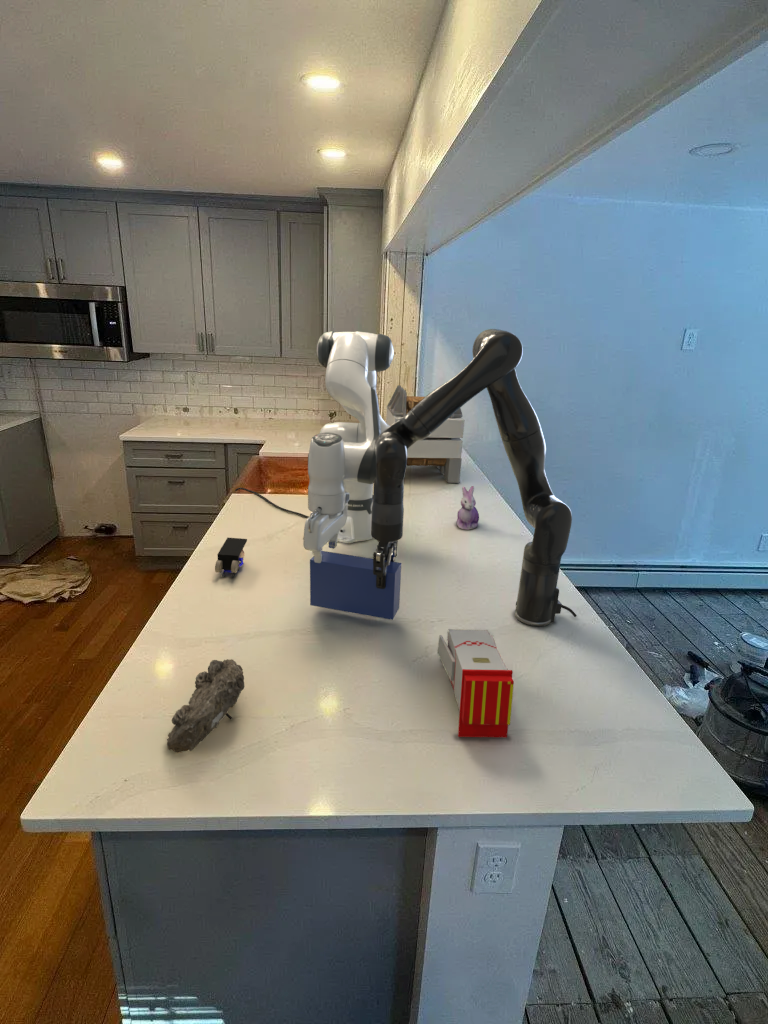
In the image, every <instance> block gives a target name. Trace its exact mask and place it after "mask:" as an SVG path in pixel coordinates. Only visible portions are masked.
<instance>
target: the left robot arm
mask: <svg viewBox="0 0 768 1024" xmlns="http://www.w3.org/2000/svg"><path fill="white" fill-rule="evenodd" d="M392 342H393V341H392V339H391V338H390V336H388V335H386V334H382V333H377V334H376V333H372V332H368V331H357V330H356V331H336V332H335V331H333V330H331V331H326V332H323V333H322V334H321V335H320V336H319V339H318V341H317V344H316V356H317V359H318V362H319V364H320V365H321V366H322V367H323V368H326V370H325V378H324V383H325V386H324V387H325V389H326V391H327V393H328V395H329V397H331V398H332V399H333V400H334V401H335V402H337V403H338V404H339V405H341V407H342V409H343V410H344V411H345V413H347V414H348V415H350V416H351V417H353V418H355V419H356V420H357V421H358V422H348V421H336V422H330V423H325V424H324V425H323V426H322V427H321V429H320V431H319V433H316V434H315V435H313V436H312V437H311V439H310V443H309V450H308V454H307V473H308V474H307V475H308V479H309V483H308V487H307V510H308V511H309V512H311V513H310V514H309V516H308V515H306V514H303V513H300V512H297V511H293V510H290V509H287V508H285V507H281V506H279V505H277V504H276V503H274V502H272V501H271V500H269V499H268V498H267V497H265V496H264V495H262V494H260V493H259V492H256V491H253V490H251V489H248V488H246V487H237V488H236V489H235V490H234V491H235V492H237V491H240V490H241V491H246V492H248V493H250V494H254V495H257V496H258V497H260V498H261V499H263V500H264V501H265V502H267V503H268V504H270V505H272V506H273V507H275V508H277V509H279V510H280V511H284V512H287V513H290V514H294V515H297V516H301V517H303V518H306V519H305V522H304V528H303V541H302V542H303V543H302V544H303V545H302V547H303V549H304V550H305V551H309V552H312V555H313V556H314V562H315V563H321V562H322V561H323V554H322V553H321V551H323V547H325V545H326V544H327V543H328V546H327V547H328V548H329V549H332V550H333V549H335V548H336V547H337V546H338V542H339V543H343V544H352V543H357V542H365V541H368V540H372V539H374V538H373V537H372V536H371V519H372V505H373V491H374V480H375V478H376V455H375V452H374V443H375V441H376V439H377V438H378V436H379V435H380V434H381V433H382V432H383V431H385V430H386V429H387V428H388V427H390V426H389V425H388V424H387V423H386V420H384V419H383V417H382V416H381V414H380V406H379V397H378V394H377V373H379V372H380V373H381V372H384V371H386V370H388V369H389V368H390V367H391V364H392V362H393V359H394V357H395V351H394V350H395V349H394V345H393V343H392Z"/></svg>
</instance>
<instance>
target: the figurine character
mask: <svg viewBox="0 0 768 1024" xmlns="http://www.w3.org/2000/svg"><path fill="white" fill-rule="evenodd" d="M247 542H248V538H240V537H226V539H225V541H224V543H223V544H222V546H221V547H220V549H219V551H218V552H217V560H216V562H215V564H214V572H215V573H221V577H222V578H224V577H225V576H226V574H227V573H230V574H231V573H232V574H231V578H234V577H235V575H236V573H237V572H239V571H240V567H242V566H243V565H244V564H245V562H244V558H245V551H244V547H245V546H246V544H247Z"/></svg>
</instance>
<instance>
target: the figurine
mask: <svg viewBox="0 0 768 1024" xmlns="http://www.w3.org/2000/svg"><path fill="white" fill-rule="evenodd" d="M474 490H475V486H474V485H471V487H469V490H467V488H466V487H465V486H462V487H461V491H462V497H461V500H460V505H461V508H460V509H458V510H457V515H456V516H457V519H456V526H458V528H459V529H461V530H473V529H475V528H477V527H478V525H479V521H480V514H479V511H478V509H477V507H476V504H477V502H476V499H475V496H474V492H475V491H474Z"/></svg>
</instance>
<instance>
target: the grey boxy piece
mask: <svg viewBox="0 0 768 1024" xmlns="http://www.w3.org/2000/svg"><path fill="white" fill-rule="evenodd" d="M407 394H408V393H407V390H406V389H404V388H403V387H402V385H399V384H398V385H397V386H396V388H395V390H394V392H393V394H392V395H391V398H390V400H389V402H388V404H387V405H386V413H385V414H386V415H385V422H386V423H387V424H388V425H389V426H391V425H393V424H394V423H395V422H397V421H398V420H400V419H402V418H403V417H404V416H405V415H406V414H407V413H408V412H409V411H410V410H411V409H412V408H413V407H414V406H416V405H417V404H418V403H419V402H420V401H421V400H422V399H423V398H424V397H425V396H415V395H414V396H413V395H412V396H411V395H407ZM464 429H465V419H464V418H463V411H462V407H461V408H459V409H458V410H457V411H456V412H455V413H454V414H452V415H451V416H450V417H449V418H448V419H447V420H446V421H445V422H444V423H443V424H441V425H440V426H439V427H438V428H437V429H436V430H435V431H434V432H433V433H431V434H430V435H429V436H428V437H427V438H425V439H424V440H418V441H416V442H415V443H414V444H413V445H412V446H410V447H409V448H408V449H407V465H406V467H407V466H411V467H412V466H413V467H415V466H416V467H417V466H418V467H436V468H437V470H438V469H439V473H440V474H441V475H443V478H444V479H445V481H446V482H447V483H449V484H455V483H456V484H459V483H461V472H462V461H463V460H462V453H463V442H464V441H463V440H462V439H463V438H464V431H465V430H464Z"/></svg>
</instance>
